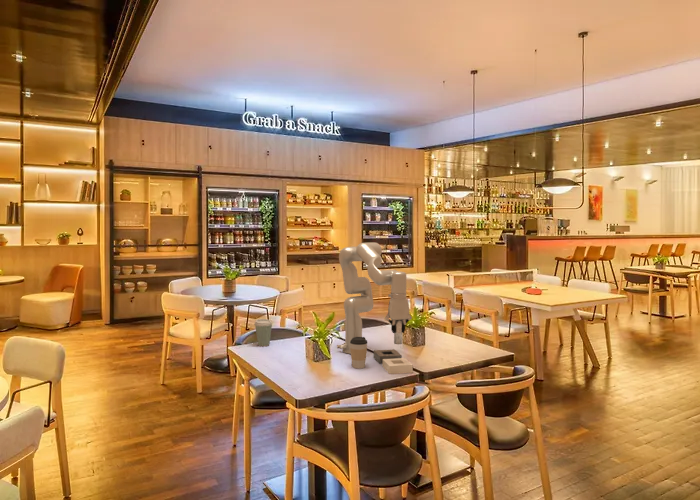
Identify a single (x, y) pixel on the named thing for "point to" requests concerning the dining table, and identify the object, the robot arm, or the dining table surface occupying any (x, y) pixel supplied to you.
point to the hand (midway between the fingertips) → (398, 332)
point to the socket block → (397, 366)
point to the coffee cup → (358, 352)
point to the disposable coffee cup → (263, 331)
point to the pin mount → (385, 355)
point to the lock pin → (398, 332)
